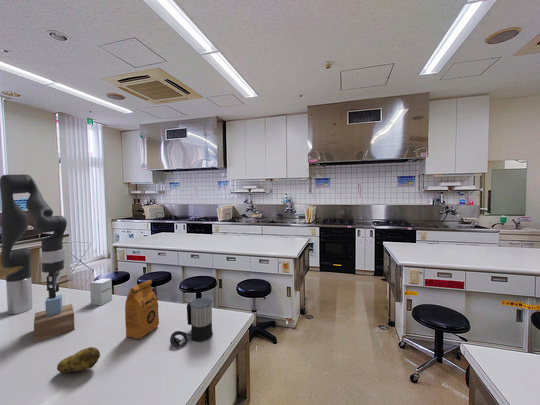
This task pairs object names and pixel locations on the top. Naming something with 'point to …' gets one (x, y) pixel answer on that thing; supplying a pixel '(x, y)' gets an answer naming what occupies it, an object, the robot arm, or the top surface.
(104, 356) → the top surface
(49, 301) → the slate block
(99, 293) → the supplement box
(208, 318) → the milk frother
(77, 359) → the potato
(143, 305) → the coffee package
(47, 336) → the walnut box
